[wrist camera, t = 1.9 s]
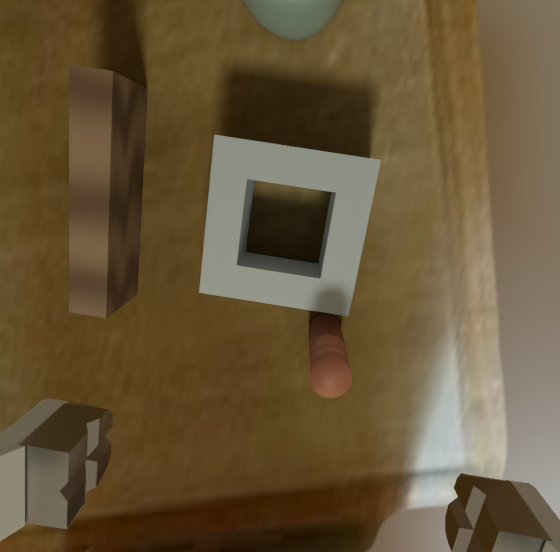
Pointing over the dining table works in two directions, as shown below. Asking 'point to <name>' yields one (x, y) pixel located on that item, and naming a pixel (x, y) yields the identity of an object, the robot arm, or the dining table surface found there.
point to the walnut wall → (104, 188)
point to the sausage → (328, 358)
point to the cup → (293, 16)
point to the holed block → (274, 270)
